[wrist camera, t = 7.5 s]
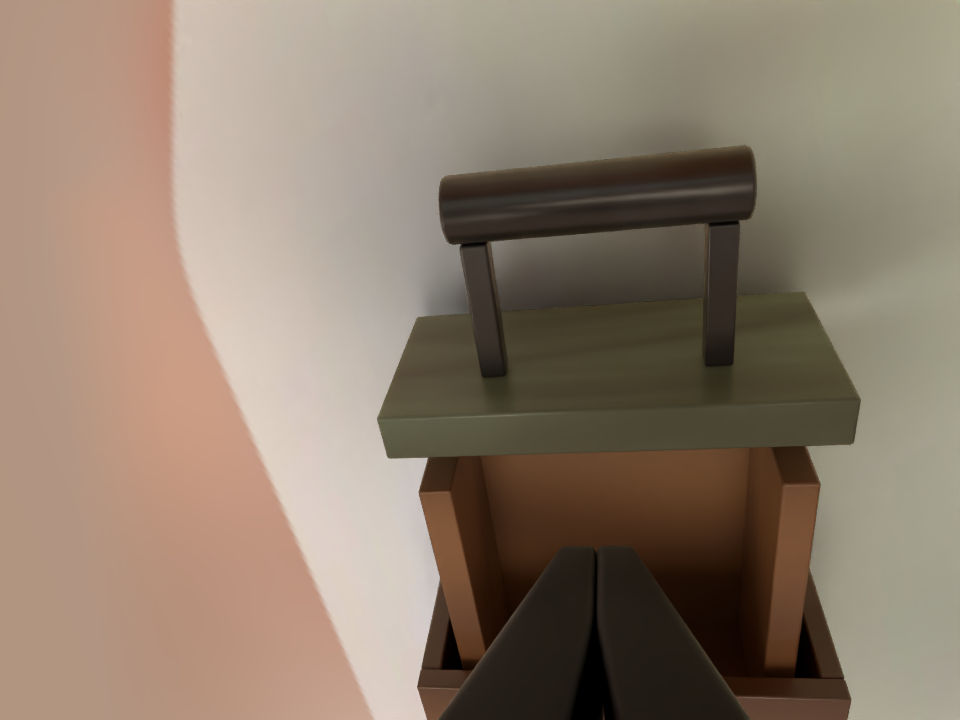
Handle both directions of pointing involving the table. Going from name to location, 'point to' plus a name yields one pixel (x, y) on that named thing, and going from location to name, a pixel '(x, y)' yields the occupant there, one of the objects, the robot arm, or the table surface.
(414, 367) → the drawer
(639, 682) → the robot arm
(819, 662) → the cabinet
